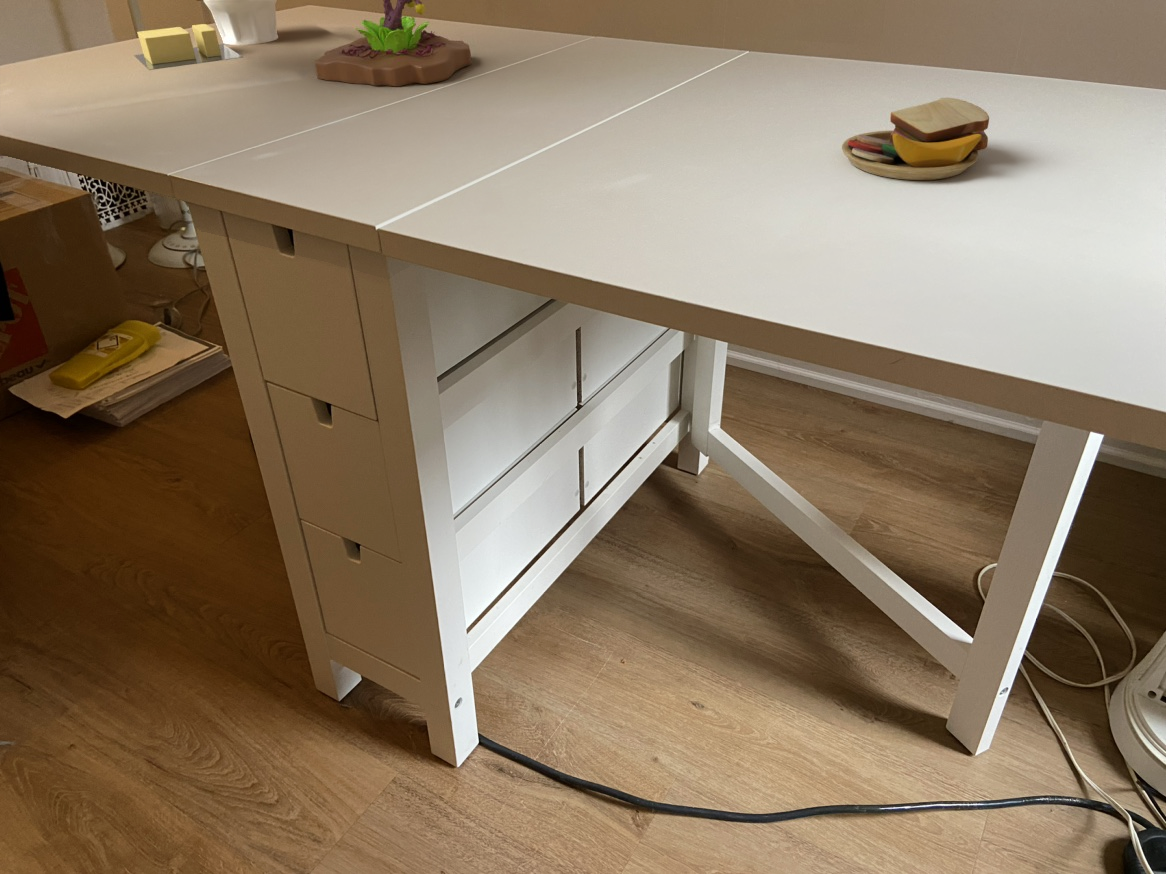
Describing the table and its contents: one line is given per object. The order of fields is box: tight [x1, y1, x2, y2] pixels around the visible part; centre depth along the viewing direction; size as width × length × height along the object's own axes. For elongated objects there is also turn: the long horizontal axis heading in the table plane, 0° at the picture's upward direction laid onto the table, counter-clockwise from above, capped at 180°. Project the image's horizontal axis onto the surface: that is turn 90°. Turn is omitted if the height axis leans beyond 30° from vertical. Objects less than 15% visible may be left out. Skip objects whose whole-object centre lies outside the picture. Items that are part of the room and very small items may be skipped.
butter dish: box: [133, 43, 243, 71], centre depth 129 cm, size 13×12×1 cm
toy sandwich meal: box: [841, 97, 990, 181], centre depth 83 cm, size 12×14×5 cm
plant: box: [315, 0, 472, 87], centre depth 119 cm, size 20×20×11 cm
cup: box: [202, 0, 279, 46], centre depth 135 cm, size 12×12×11 cm
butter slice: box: [191, 23, 221, 57], centre depth 129 cm, size 2×6×4 cm, turn 32°
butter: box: [137, 26, 196, 65], centre depth 126 cm, size 6×6×4 cm
